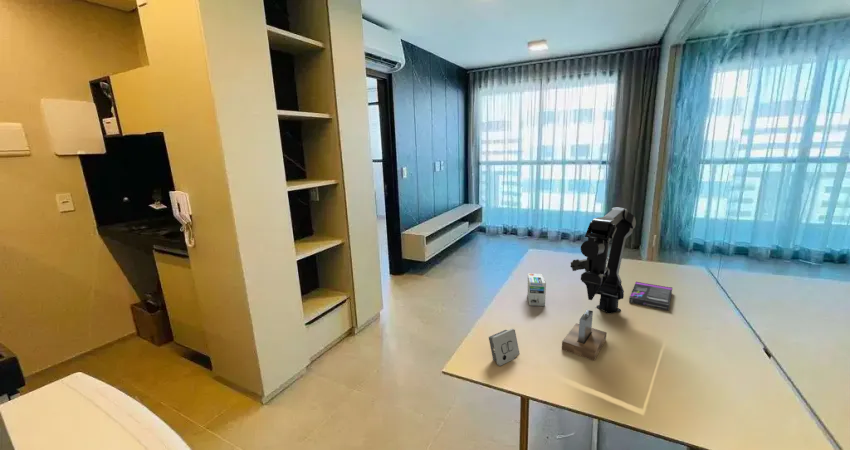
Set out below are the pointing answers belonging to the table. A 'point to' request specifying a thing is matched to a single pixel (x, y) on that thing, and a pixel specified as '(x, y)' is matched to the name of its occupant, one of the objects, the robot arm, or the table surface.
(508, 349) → the electrical switch
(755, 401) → the table surface
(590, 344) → the walnut slot box
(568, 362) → the table surface
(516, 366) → the table surface
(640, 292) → the box
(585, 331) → the gray rectangular metal block
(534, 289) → the light bulb box
